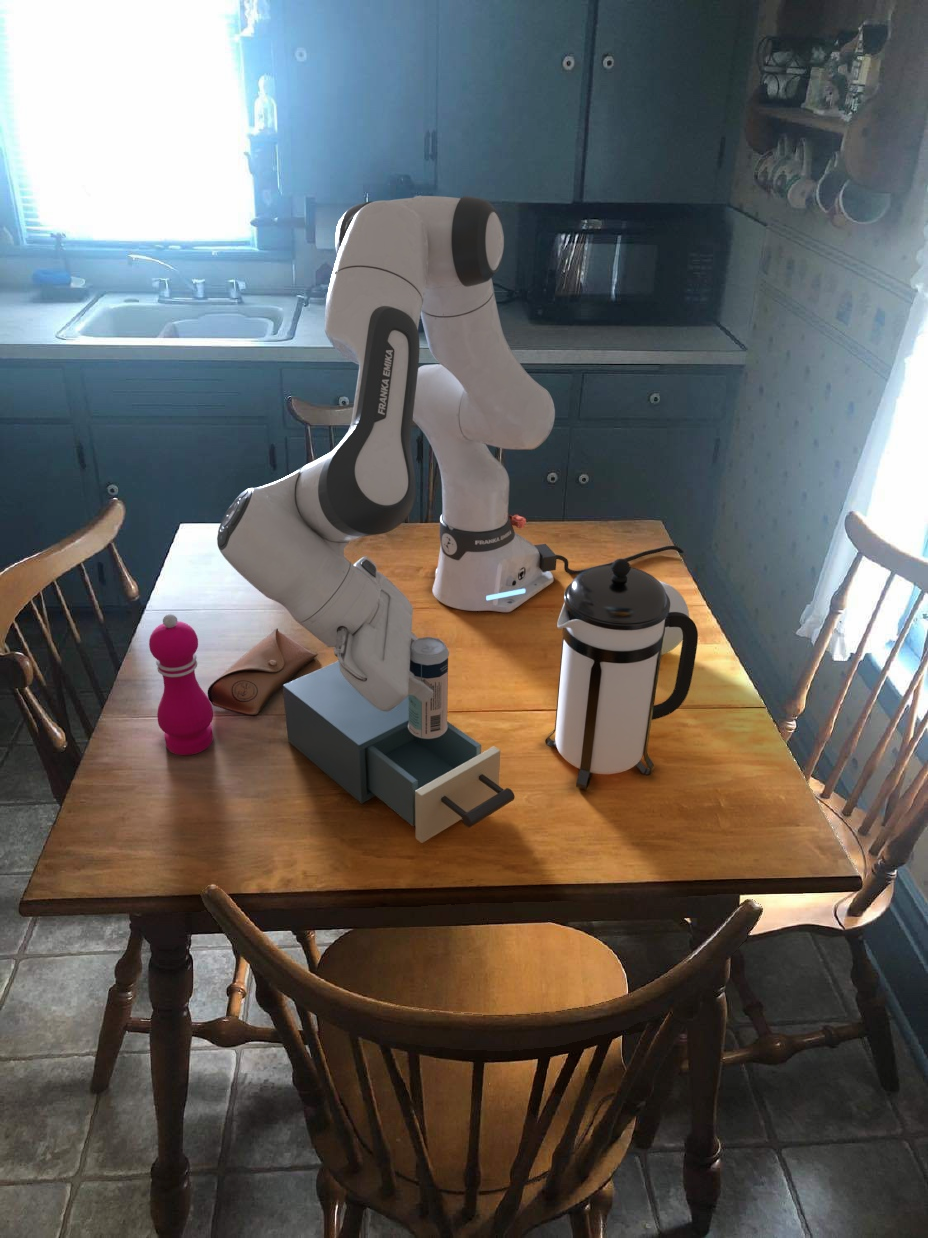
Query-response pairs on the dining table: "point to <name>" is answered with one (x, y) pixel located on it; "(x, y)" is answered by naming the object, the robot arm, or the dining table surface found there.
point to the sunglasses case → (259, 674)
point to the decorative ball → (676, 605)
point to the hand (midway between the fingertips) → (430, 680)
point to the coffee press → (615, 668)
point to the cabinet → (337, 726)
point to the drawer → (436, 779)
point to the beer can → (433, 667)
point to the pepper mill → (181, 689)
